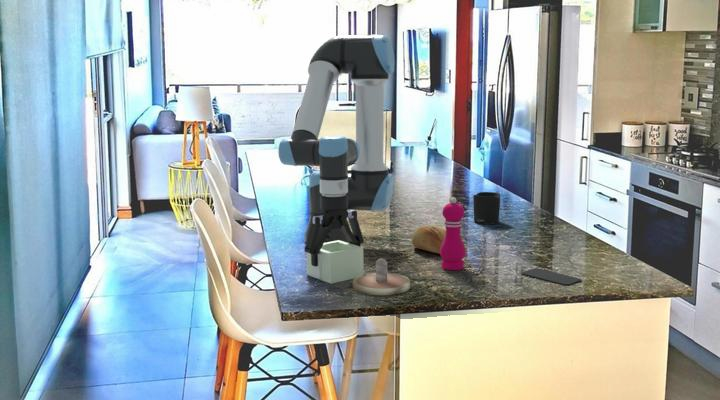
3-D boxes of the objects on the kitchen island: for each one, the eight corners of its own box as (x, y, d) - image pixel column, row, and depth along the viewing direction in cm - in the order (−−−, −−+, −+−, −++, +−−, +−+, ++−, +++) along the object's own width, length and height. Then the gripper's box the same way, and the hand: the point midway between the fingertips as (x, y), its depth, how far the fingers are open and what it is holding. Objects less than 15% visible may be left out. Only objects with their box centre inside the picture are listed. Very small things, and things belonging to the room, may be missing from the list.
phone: (567, 284, 203) (519, 272, 214) (567, 288, 204) (519, 275, 215) (583, 279, 208) (535, 267, 219) (583, 282, 208) (535, 270, 219)
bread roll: (436, 259, 231) (436, 232, 230) (403, 249, 243) (403, 224, 241) (460, 254, 237) (460, 228, 235) (426, 244, 249) (427, 219, 247)
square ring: (339, 267, 223) (338, 240, 221) (363, 276, 214) (363, 247, 213) (307, 274, 216) (306, 246, 214) (331, 283, 208) (330, 254, 206)
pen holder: (468, 220, 282) (468, 192, 280) (492, 218, 285) (492, 191, 283) (480, 225, 273) (480, 197, 272) (504, 223, 276) (505, 195, 274)
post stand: (384, 275, 215) (384, 248, 214) (422, 287, 203) (422, 259, 202) (340, 285, 206) (340, 257, 204) (377, 299, 194) (377, 269, 193)
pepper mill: (463, 263, 226) (464, 194, 222) (467, 270, 218) (468, 199, 215) (438, 264, 225) (438, 195, 222) (441, 271, 218) (442, 200, 214)
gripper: (305, 201, 201) (307, 284, 205) (376, 190, 215) (377, 268, 219) (289, 197, 207) (291, 278, 211) (359, 187, 221) (360, 263, 225)
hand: (335, 273), depth 215 cm, fingers closed on square ring, 11 cm apart
